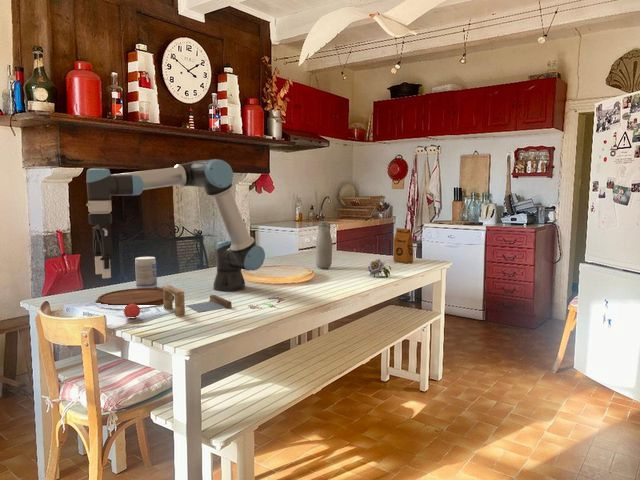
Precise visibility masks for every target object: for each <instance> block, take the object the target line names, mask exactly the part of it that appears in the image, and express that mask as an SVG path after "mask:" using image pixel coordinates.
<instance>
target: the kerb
mask: <svg viewBox="0 0 640 480" xmlns="http://www.w3.org/2000/svg"><path fill="white" fill-rule="evenodd" d="M210 301H212V302H214V303H216V304H219V305H221V306H223V307H225V308H224V309H227V310H229V309H232V304H233V303H232V301H230V300H228V299H225V298H223V297H222V296H218V295H216V294H210V295H209V302H210Z"/></svg>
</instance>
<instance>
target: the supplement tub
mask: <svg viewBox="0 0 640 480" xmlns="http://www.w3.org/2000/svg"><path fill="white" fill-rule="evenodd" d="M134 260H135V261H134V264H135V265H134V268H135V271H134V272H135V285H136V286H135V288H157V287H158V282H157V281H158V280H157V260H156V257H155V256H139V257H135V258H134Z"/></svg>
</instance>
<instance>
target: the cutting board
mask: <svg viewBox="0 0 640 480" xmlns="http://www.w3.org/2000/svg"><path fill="white" fill-rule="evenodd" d="M173 300H175V295H174V294H172V301H173ZM95 302H96V303H101V304H108V305H129V304H136V305H159V306H161V305H162V306H164V305H163V288H157V287H156V288H137V287H135V288H127V289H120V290H114V291H113V290H112V291H110V292H105V293H103V294H101V295H99V296H98V297H97V299H96V300H95V301H94V303H95Z"/></svg>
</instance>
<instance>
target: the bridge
mask: <svg viewBox="0 0 640 480" xmlns="http://www.w3.org/2000/svg"><path fill="white" fill-rule="evenodd" d="M162 289H163V305H162V306H163V309H164V308H165V309H167V310H173V308H174V312H175V313H174V315H175V317H184V316H186V311H185V310H186V309H185V307H186V305H185V291H184V290H182V289H179V288H177V287H175V286H172V285H170V284H169V285H163V286H162ZM172 294H173V296H174V304H173V300H172ZM173 306H174V307H173ZM165 309H164V310H165Z"/></svg>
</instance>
